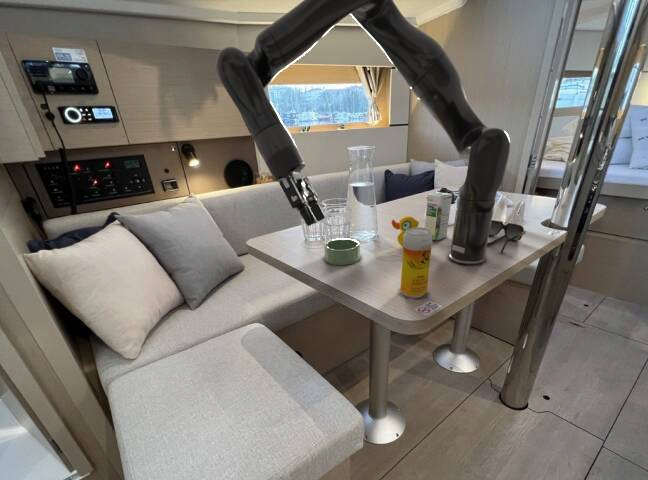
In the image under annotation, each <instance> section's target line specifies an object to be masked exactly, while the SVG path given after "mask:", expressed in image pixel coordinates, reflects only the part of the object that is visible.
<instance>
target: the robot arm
mask: <svg viewBox="0 0 648 480" xmlns="http://www.w3.org/2000/svg"><path fill="white" fill-rule="evenodd" d="M350 15H351V16H352V18H353V19H354V20H355V21H356V23H358V24H359V26H360V27H361V28H362V29H363V30H364V31H365V32H366V33H367V34H368V35H369V36H370V37H371V38H372V39H373V41H375V42H376V44H377V45H378V46H379V47H380V49H381V50H382V51H383V53H385V55H386V56H387V58H388V59H389V61H390V62H391V64H392V65H393V66H394V68H395V69H396V70H397V72H398V73H399V74H400V75H401V77H402V78H403V80H404V81H405V83H406V84H407V86H408V87H409V88H410V90H411V91H412V92H413V94H414V96H416V98H417V99H418V101H419V103H421V105H423V107H424V108H425V109H426V110H427V111H428V113H429V114H430V115H431V116H432V117H433V119H434V121H436V122H437V123H438V124H439V125H440V126H441V128H442V129H443V130H444V132H445V134H447V136H448V138H449V140H450V141H451V143H452V145H453V146H454V148H455V151H456V152H457V154H458V156H459V157H460V159H461V161H462V162H463V163H464V164H465V166H467V170H466V175H465V180H464V182H463V183H462V184H460V186H459V188H458V194H457V200H456V208H455V209H456V210H455V214H454V215H455V216H454V224H453V230H452V236H451V245H450V252H449V257H448V258H449V260H451V261H452V262H454V263H456V264H460V265H469V266H471V265H479V264H482V263H484V262H485V258H486V256H485V255H486V253H487V247H488V246H491V245H493V244H495V243H497V242H498V241H501V240H503V239H505V238H506V236H505V234H504V235H501V236H500V237H498V238H495V239H494V240H492V241H490V242H488V241H489V236H490V235H489V232H490V226H491V221H492V216H493V211H494V207H495V205H496V200H497V195H498V192H499V190H500V188H501V187H502V185H503V182H504V177H505V174H506V170H507V167H508V161H509V156H510V153H511V152H510V151H511V140H510V137H509V134H508V133H507V131H505V130H503V129H502V128H499V127H489V126H486V124H485V123H483V121H482V120H481V119H480V118H479V117H478V115H477V114H476V112H475V111H474V110H473V109H472V107H471V105H470V102H469V101H468V97H467V94H466V92H465V88H464V84H463V81H462V79H461V76H460V74H459V71H458V69H457V67H456V66H455V64H454V62H453V60H452V59H451V58H450V56H449V55H448V53H447V52H446V51H445V49H444V48H443V46H442V45H441V44H440V43H439V42H438V41H437V40H436V39H435V38H433V37H432V36H430V35H429V34H428V33H426V32H424V31H423V30H421V29H419V28H417V27H416V26H415V25H413V24H412V23H411V22H410V21H409V20H407V18H406V17H405V16H404V15H403V13H402V12H401V11H400V9H399V7H398V6H397V5H396V3H395V2H394V0H302V1H301V2H300V3H298V4H297V5H296V6H294V7H293V8H292V9H291V10H289V11H287V13H285V14H284V15H282V16H281V17H279V18H278V19H276V20H275V21H273V22H272V23H271V24H270V25H268V26H266V28H264V29H263V30H261V31H260V32H259V33H258V34H257V36H256V37H255V39H254V40H255V41H254V46H253V49H252V50H251V51H250V52H249V53H248V54H247V53H246V52H245V51H243V50H241V49H240V48H237V47H236V46H235V47H234V46H226V47H224V48H222V49H221V50H220V51H219V52H218V54H217V56H216V59H215V69H216V70H215V71H216V74H217V77H218V79H219V81H220V83H221V84H222V87H224V89H225V91H226V92H227V94H228V96H229V97H230V99H231V101H232V102H233V103H234V105H235V107H236V108H237V110H238V112H239V114H240V115H241V118H242V120H243V123H244V125H245V126H246V129H247V130H248V132H249V134H250V136H251V137H252V139H253V141H254V144H255V146H256V148H257V150H258V153H259V154H260V157H261V158H262V161H264V163H265V165H266V167H267V168H268V170H269V172H270V174H271V176H272V178H273V180H274V181H275V182H276V183H278V184H279V186H280V187H281V190H282V192H283V193H284V196H285V197H286V199H287V201H288V202H289V204H290V206H291V208H292V209H293V210H294V209H295V210H296V211H298V212H299V214H300V215H301V217H302V219H303V221H304V223H305V225H306V226H307V227H310V226H312V225H314V224H315V223H317V222H320V221H322V220H324V219H326V214H325V212H324V211H323V209H322V207H321V206H320V205H321V204H319V202H320V201H319V200H320V197H319V195H318V193H317V191H316V190H315V188H314V186H313V184H312V182H311V181H310V178H309V177H308V176H305V177H303V175H302V174H301V172H302V170H303V169H305V167H306V162H305V160H304V158H303V156H302V154H301V153H300V150H299V149H298V147H297V145H296V143H295V141H294V139H293V138H292V137H293V136H292V135H291V134H290V132H289V130H288V129H287V128H286V126H285V125H284V123H283V121H282V119H281V117H280V115H279V113H278V112H277V110H276V108H275V107H274V105H273V103H272V102H271V100H270V99H269V97H268V95H267V93H266V90H265V89H266V88H267V86H268V85H269V84H270V83H271V82H272V81H273V80H274V79H275V78H276V76H277V75H278V74H279V73H280V72H282V71H283V70H285V69H287V68H288V67H289V66H290V65H292V64H293V63H295V62H296V61H297V60H299V59H301V57H303V56H305V54H306V53H308V52H309V51H311V49H312V48H313V47H315V46H316V44H317V43H319V41H321V39H322V38H323V37H324V36H325V35H327V33H329V31H330V30H331V29H332V28H334V27H335V26H336V25H337V24H339V22H340V21H342V20H343V19H345V18H346V17H348V16H350Z"/></svg>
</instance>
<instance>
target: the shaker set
mask: <svg viewBox="0 0 648 480" xmlns="http://www.w3.org/2000/svg"><path fill="white" fill-rule="evenodd" d="M508 203H509V195H508V194H505V195H504V194H502V195H501V196H500V197H499V199H497V202H496V203H495V205H494V211H493V216H492V220H495V221H502V222H508V223H513V224H517V225H520V226H522V227H523V225H524V224H523V223H524V217H525V209H526V208H525V206H526V201H522V203H521V200H519V201H518V202H517V203H516V205H515V206H514V207H513V209H512V211H511V212H510V214H509V215H508V217H507V214H508V213H507V212H508ZM508 223H503V225H507V224H508Z"/></svg>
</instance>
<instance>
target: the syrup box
mask: <svg viewBox="0 0 648 480" xmlns="http://www.w3.org/2000/svg"><path fill="white" fill-rule="evenodd" d="M426 198H427V199H426V208H425V219H424V220H425V221H424V228H427V229H430V230H431V233H432V236H433V238H432V241H433V240H434V241H440V240H443V239H444V238H447V236H448V229H449V222H450V221H449V220H450V214H451V205H452V200H453V199H452V198H453V193H446V192H440V191H439V192H438V191H436V192H431V193H427V196H426Z"/></svg>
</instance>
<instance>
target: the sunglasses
mask: <svg viewBox="0 0 648 480" xmlns="http://www.w3.org/2000/svg"><path fill="white" fill-rule="evenodd" d="M504 223H508V222H502V221H495V220H492V221H491V226H490V232H489V236H497V235H499V233H501V231H502V230H504V235H505V236H506V237H505V238H506V239H507V240H505V242H504V244H503V246H502V248H501V251H500V253H501V254H503V253H504V250H505V249H506V246H507V243H508V242H510V241H513V242H514V241H515V242H518V241H520V240H521V239H522V238H523V236H524V235H526V232H527V231H526V230H524V229H525V228H524V226H523V225H522V226H520V225H517V224H513V223H508V224H507V225H503V224H504Z"/></svg>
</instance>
